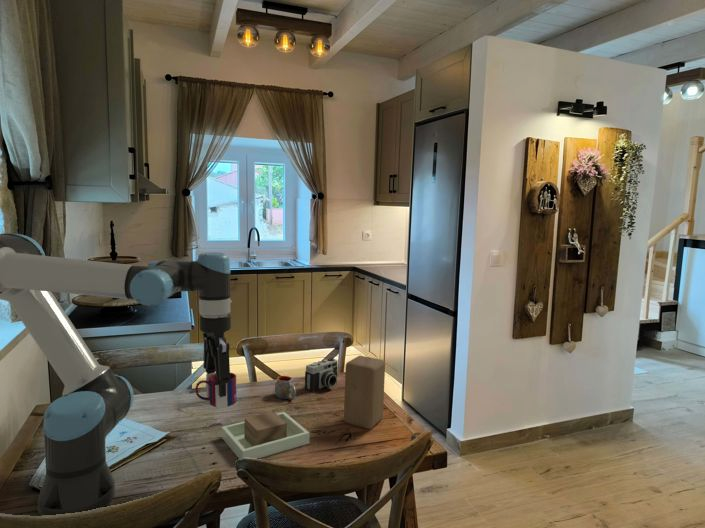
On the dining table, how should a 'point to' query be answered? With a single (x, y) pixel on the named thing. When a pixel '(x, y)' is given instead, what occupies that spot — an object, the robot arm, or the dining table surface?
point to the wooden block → (364, 391)
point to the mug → (285, 388)
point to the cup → (212, 397)
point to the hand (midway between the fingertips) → (216, 402)
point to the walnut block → (264, 428)
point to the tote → (244, 449)
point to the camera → (321, 374)
